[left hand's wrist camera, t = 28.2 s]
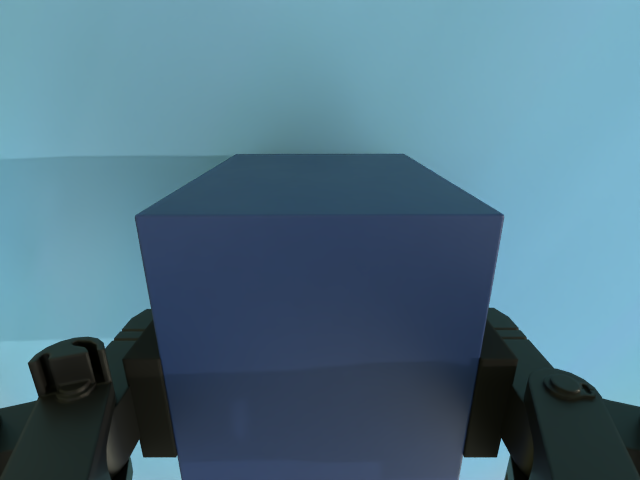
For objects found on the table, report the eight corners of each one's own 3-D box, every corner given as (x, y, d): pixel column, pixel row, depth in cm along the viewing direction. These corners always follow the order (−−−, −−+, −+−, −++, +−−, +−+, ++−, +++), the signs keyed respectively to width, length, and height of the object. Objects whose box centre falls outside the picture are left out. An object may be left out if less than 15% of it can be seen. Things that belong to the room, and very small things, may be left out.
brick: (250, 349, 18) (193, 550, 10) (235, 154, 15) (133, 215, 7) (390, 349, 18) (447, 550, 10) (404, 153, 15) (506, 214, 7)
